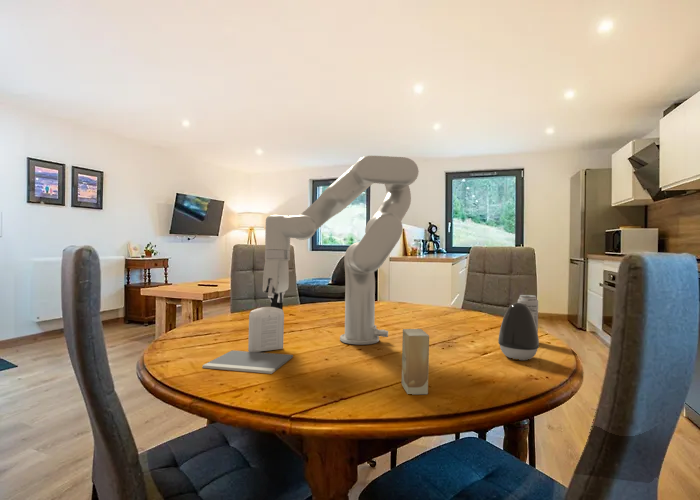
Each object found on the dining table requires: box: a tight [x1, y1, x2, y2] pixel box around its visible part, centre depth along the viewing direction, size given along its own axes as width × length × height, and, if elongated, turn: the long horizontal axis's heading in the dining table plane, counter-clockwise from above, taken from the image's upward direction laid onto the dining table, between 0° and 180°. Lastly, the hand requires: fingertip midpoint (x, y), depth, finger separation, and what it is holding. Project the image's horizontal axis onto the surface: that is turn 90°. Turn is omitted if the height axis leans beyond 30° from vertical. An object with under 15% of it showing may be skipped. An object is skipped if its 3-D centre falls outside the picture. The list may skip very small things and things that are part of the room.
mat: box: [202, 350, 294, 375], centre depth 97 cm, size 18×14×1 cm
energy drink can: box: [517, 294, 539, 334], centre depth 122 cm, size 6×6×15 cm
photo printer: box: [247, 306, 285, 353], centre depth 109 cm, size 10×4×12 cm, turn 123°
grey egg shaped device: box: [497, 302, 540, 361], centre depth 104 cm, size 10×10×15 cm
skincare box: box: [401, 328, 430, 395], centre depth 80 cm, size 6×4×12 cm
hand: (276, 315), depth 116 cm, fingers closed
